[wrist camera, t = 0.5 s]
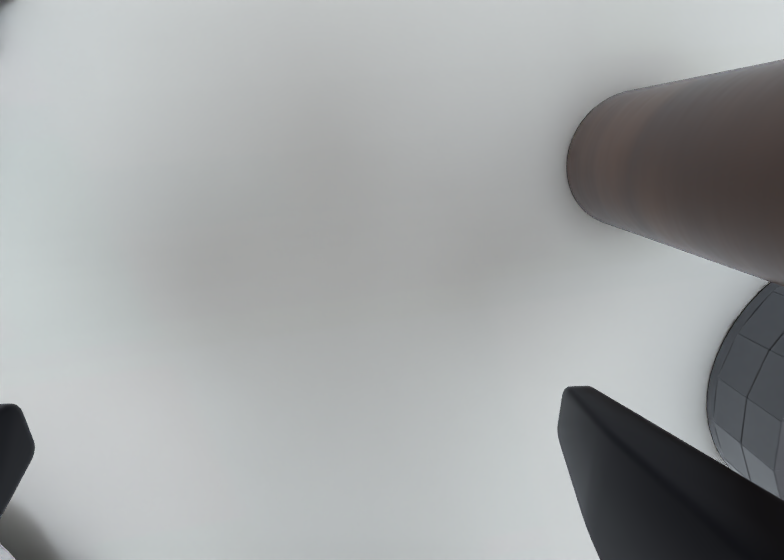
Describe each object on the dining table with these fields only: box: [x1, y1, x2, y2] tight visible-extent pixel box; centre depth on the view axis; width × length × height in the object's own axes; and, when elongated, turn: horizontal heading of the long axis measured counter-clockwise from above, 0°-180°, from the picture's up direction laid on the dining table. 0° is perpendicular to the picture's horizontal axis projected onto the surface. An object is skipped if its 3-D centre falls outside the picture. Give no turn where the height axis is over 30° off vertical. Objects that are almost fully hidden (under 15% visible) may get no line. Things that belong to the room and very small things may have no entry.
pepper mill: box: [567, 59, 784, 286], centre depth 15 cm, size 6×6×13 cm
